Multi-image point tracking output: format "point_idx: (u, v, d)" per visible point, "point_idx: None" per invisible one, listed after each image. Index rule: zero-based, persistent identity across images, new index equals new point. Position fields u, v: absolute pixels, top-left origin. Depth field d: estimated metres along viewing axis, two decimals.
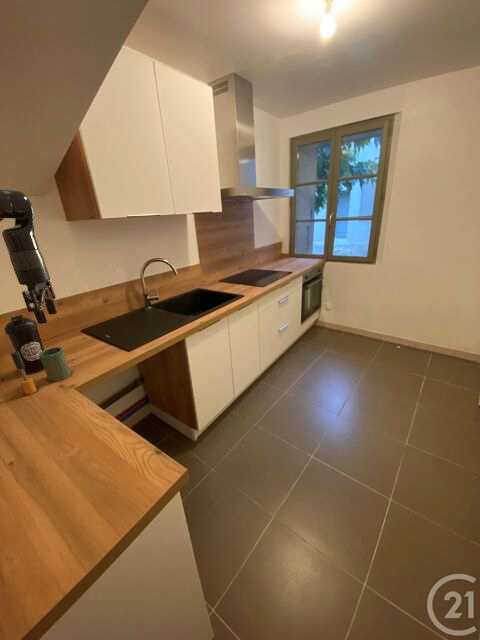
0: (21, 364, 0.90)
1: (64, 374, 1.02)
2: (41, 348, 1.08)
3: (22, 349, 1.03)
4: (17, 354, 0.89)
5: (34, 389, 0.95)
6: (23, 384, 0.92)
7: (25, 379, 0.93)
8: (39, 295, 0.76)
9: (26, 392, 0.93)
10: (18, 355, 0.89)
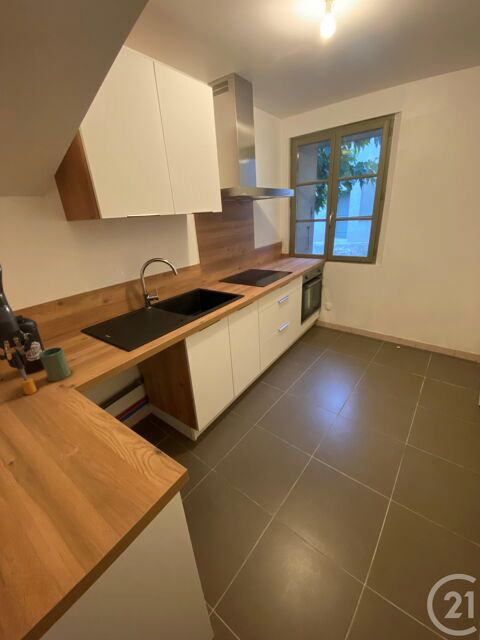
0: (21, 364, 0.90)
1: (64, 374, 1.02)
2: (41, 348, 1.08)
3: None
4: (17, 354, 0.89)
5: (34, 389, 0.95)
6: (23, 384, 0.92)
7: (25, 379, 0.93)
8: (3, 347, 0.86)
9: (26, 392, 0.93)
10: (18, 355, 0.89)
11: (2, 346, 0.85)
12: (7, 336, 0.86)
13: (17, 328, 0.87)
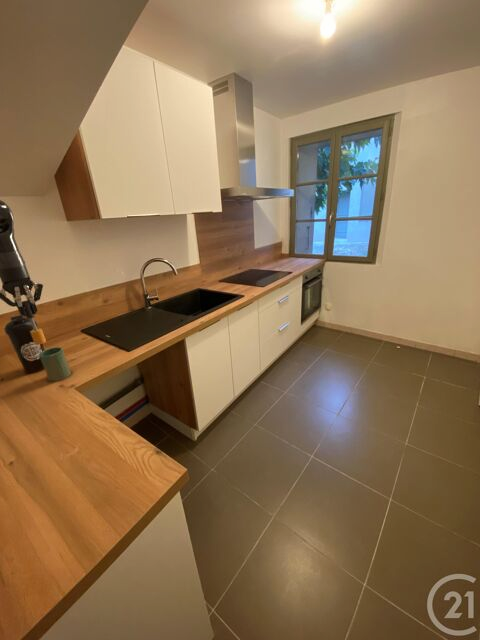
0: (31, 313, 0.92)
1: (64, 374, 1.02)
2: (41, 348, 1.08)
3: (22, 349, 1.03)
4: (27, 302, 0.90)
5: (43, 340, 0.96)
6: (33, 334, 0.93)
7: (35, 329, 0.94)
8: (14, 293, 0.87)
9: (36, 342, 0.94)
10: (28, 304, 0.91)
11: (13, 292, 0.86)
12: (18, 283, 0.87)
13: (27, 275, 0.88)
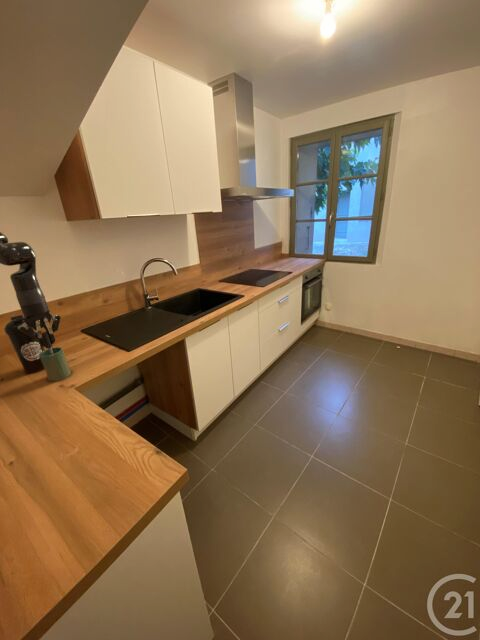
0: (50, 343, 0.98)
1: (64, 374, 1.02)
2: (41, 348, 1.08)
3: (22, 349, 1.03)
4: (46, 334, 0.97)
5: None
6: None
7: None
8: (35, 326, 0.93)
9: None
10: (47, 335, 0.97)
11: (34, 325, 0.93)
12: (38, 316, 0.94)
13: (47, 309, 0.95)
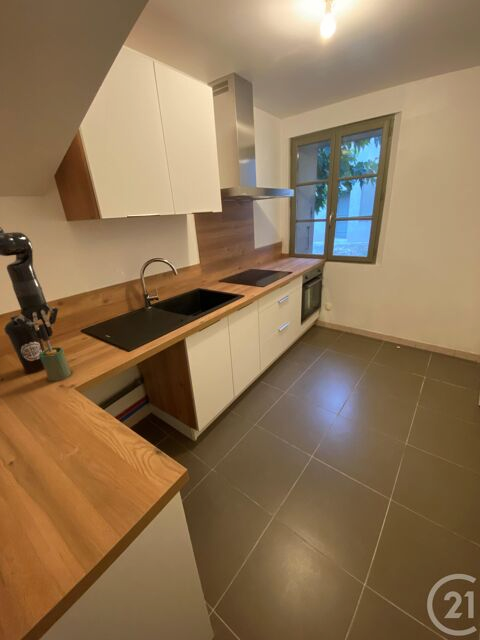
0: (47, 336, 0.97)
1: (64, 374, 1.02)
2: (41, 348, 1.08)
3: (22, 349, 1.03)
4: (43, 326, 0.96)
5: None
6: None
7: (50, 350, 0.99)
8: (31, 318, 0.92)
9: None
10: (44, 327, 0.96)
11: (31, 317, 0.92)
12: (35, 308, 0.93)
13: (44, 301, 0.93)
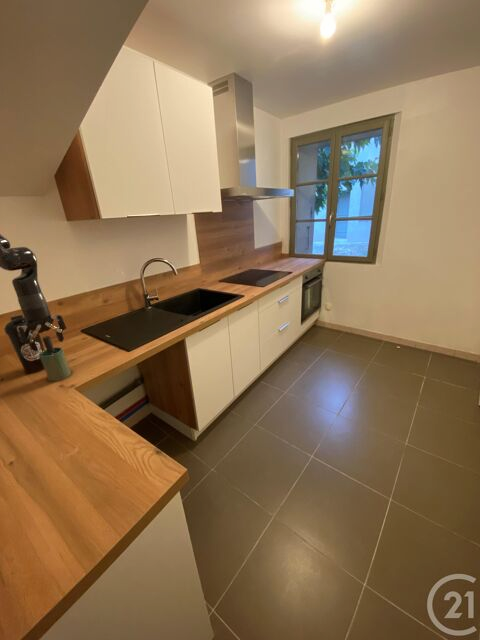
0: (51, 348, 0.99)
1: (64, 374, 1.02)
2: (41, 348, 1.08)
3: (22, 349, 1.03)
4: (48, 338, 0.98)
5: None
6: None
7: None
8: (33, 329, 0.93)
9: None
10: (49, 339, 0.98)
11: (33, 328, 0.93)
12: (40, 321, 0.94)
13: (49, 313, 0.95)
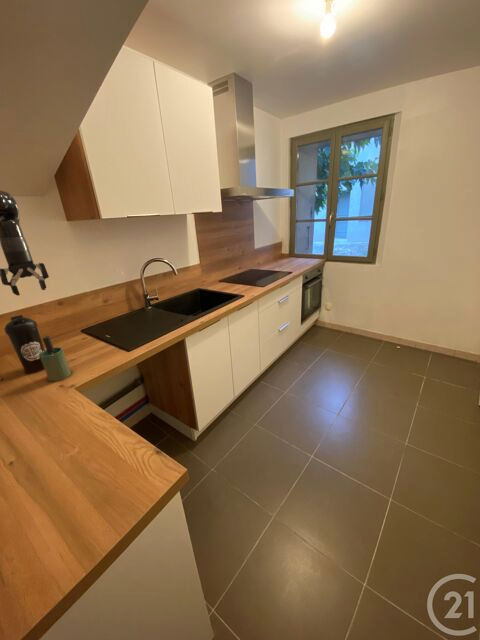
0: (51, 348, 0.99)
1: (64, 374, 1.02)
2: (41, 348, 1.08)
3: (22, 349, 1.03)
4: (48, 338, 0.98)
5: None
6: None
7: None
8: (15, 273, 0.96)
9: None
10: (49, 339, 0.98)
11: (15, 272, 0.96)
12: (22, 265, 0.97)
13: (30, 259, 0.98)
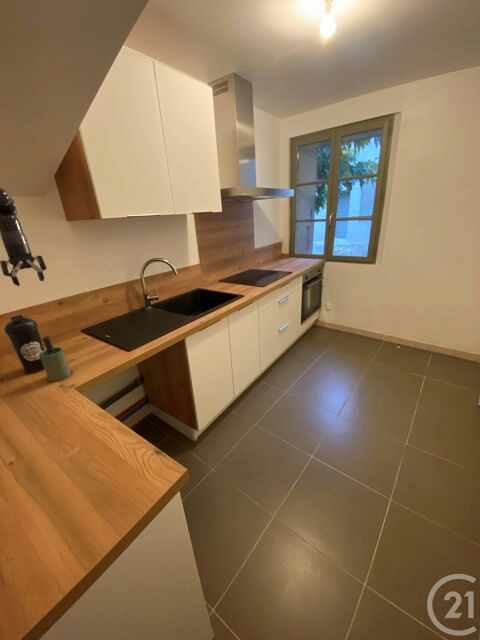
0: (51, 348, 0.99)
1: (64, 374, 1.02)
2: (41, 348, 1.08)
3: (22, 349, 1.03)
4: (48, 338, 0.98)
5: None
6: None
7: None
8: (15, 265, 1.03)
9: None
10: (49, 339, 0.98)
11: (15, 264, 1.03)
12: (21, 258, 1.05)
13: (29, 251, 1.05)
